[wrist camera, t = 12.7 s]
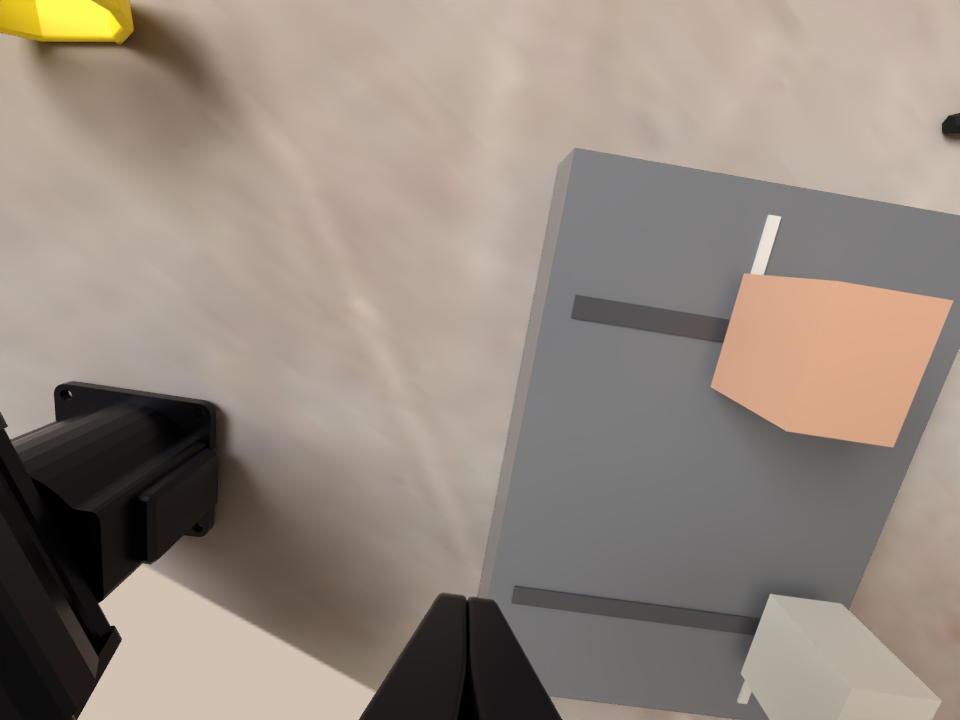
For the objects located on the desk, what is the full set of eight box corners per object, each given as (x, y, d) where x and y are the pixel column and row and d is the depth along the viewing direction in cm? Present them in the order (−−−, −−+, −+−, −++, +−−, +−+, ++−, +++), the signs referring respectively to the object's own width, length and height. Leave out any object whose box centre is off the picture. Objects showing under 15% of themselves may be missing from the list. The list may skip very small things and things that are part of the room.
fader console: (471, 629, 22) (470, 688, 19) (558, 165, 17) (575, 146, 14) (757, 666, 23) (800, 729, 20) (924, 229, 18) (1014, 224, 15)
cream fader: (740, 673, 19) (809, 783, 15) (770, 594, 18) (851, 689, 14) (808, 681, 19) (894, 793, 15) (841, 603, 18) (941, 700, 14)
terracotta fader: (710, 386, 16) (786, 431, 12) (743, 273, 15) (838, 281, 11) (791, 399, 16) (893, 447, 12) (829, 287, 15) (953, 300, 11)
